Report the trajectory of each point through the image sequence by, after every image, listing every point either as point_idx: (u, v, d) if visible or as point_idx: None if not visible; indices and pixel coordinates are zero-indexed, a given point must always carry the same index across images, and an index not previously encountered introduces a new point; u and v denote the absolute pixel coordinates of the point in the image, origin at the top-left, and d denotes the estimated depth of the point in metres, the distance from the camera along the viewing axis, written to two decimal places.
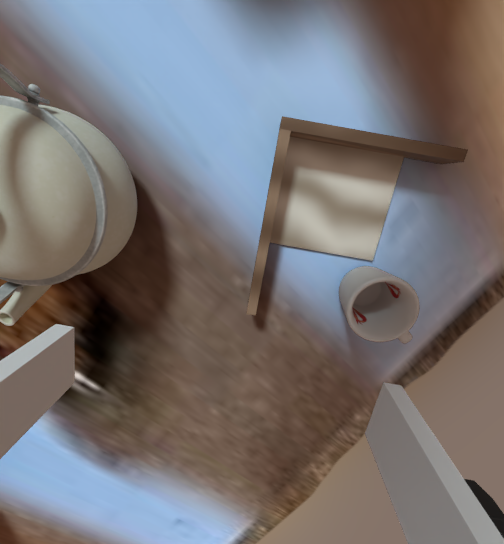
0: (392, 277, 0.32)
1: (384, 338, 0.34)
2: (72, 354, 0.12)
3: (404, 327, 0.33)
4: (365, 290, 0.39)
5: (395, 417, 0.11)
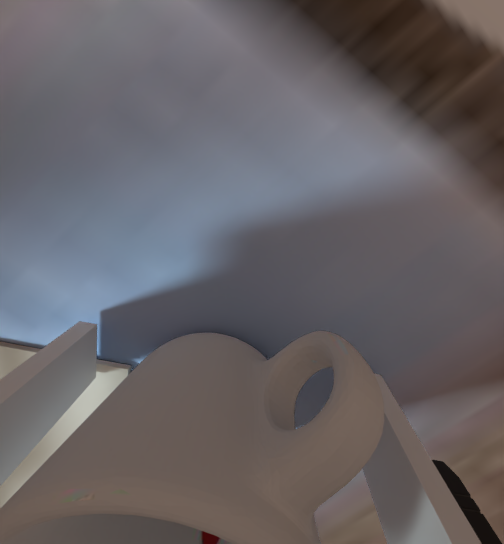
0: None
1: None
2: (95, 350, 0.13)
3: None
4: None
5: None
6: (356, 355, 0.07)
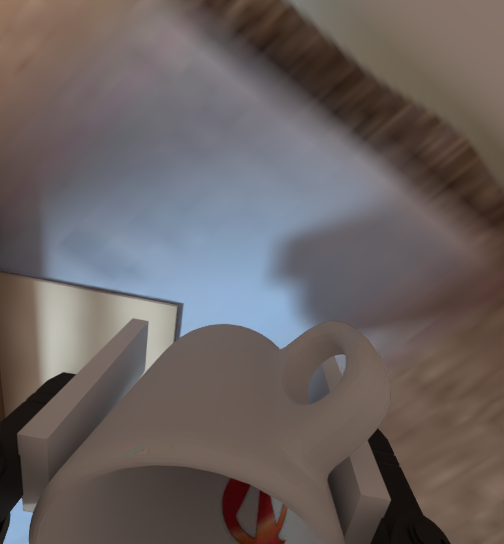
0: None
1: None
2: (145, 345, 0.14)
3: None
4: None
5: (321, 378, 0.12)
6: (365, 340, 0.08)
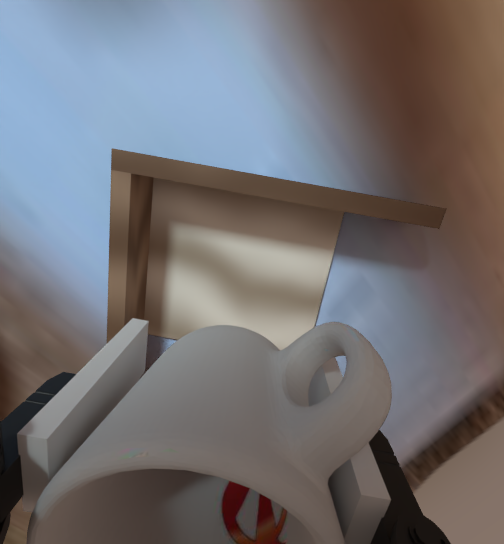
0: None
1: None
2: (145, 345, 0.14)
3: None
4: None
5: (321, 378, 0.12)
6: (366, 342, 0.08)
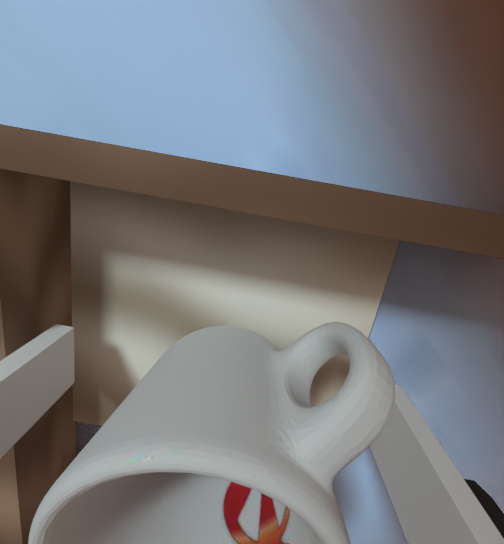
0: None
1: None
2: (72, 354, 0.12)
3: None
4: None
5: (396, 417, 0.11)
6: (369, 342, 0.08)
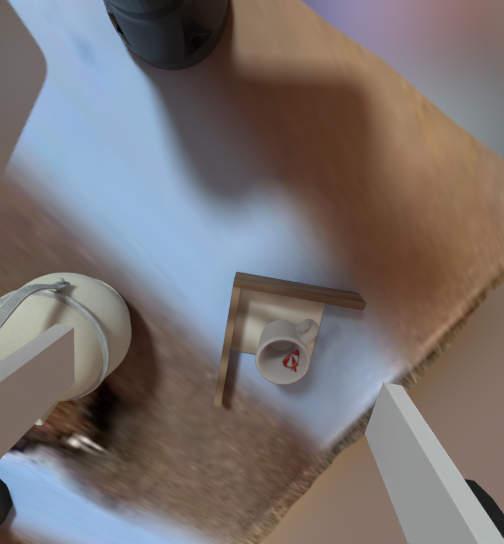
0: (256, 357, 0.42)
1: (307, 358, 0.42)
2: (72, 354, 0.12)
3: (297, 344, 0.42)
4: None
5: (395, 417, 0.11)
6: (314, 322, 0.44)
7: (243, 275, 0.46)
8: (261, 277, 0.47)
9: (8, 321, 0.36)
